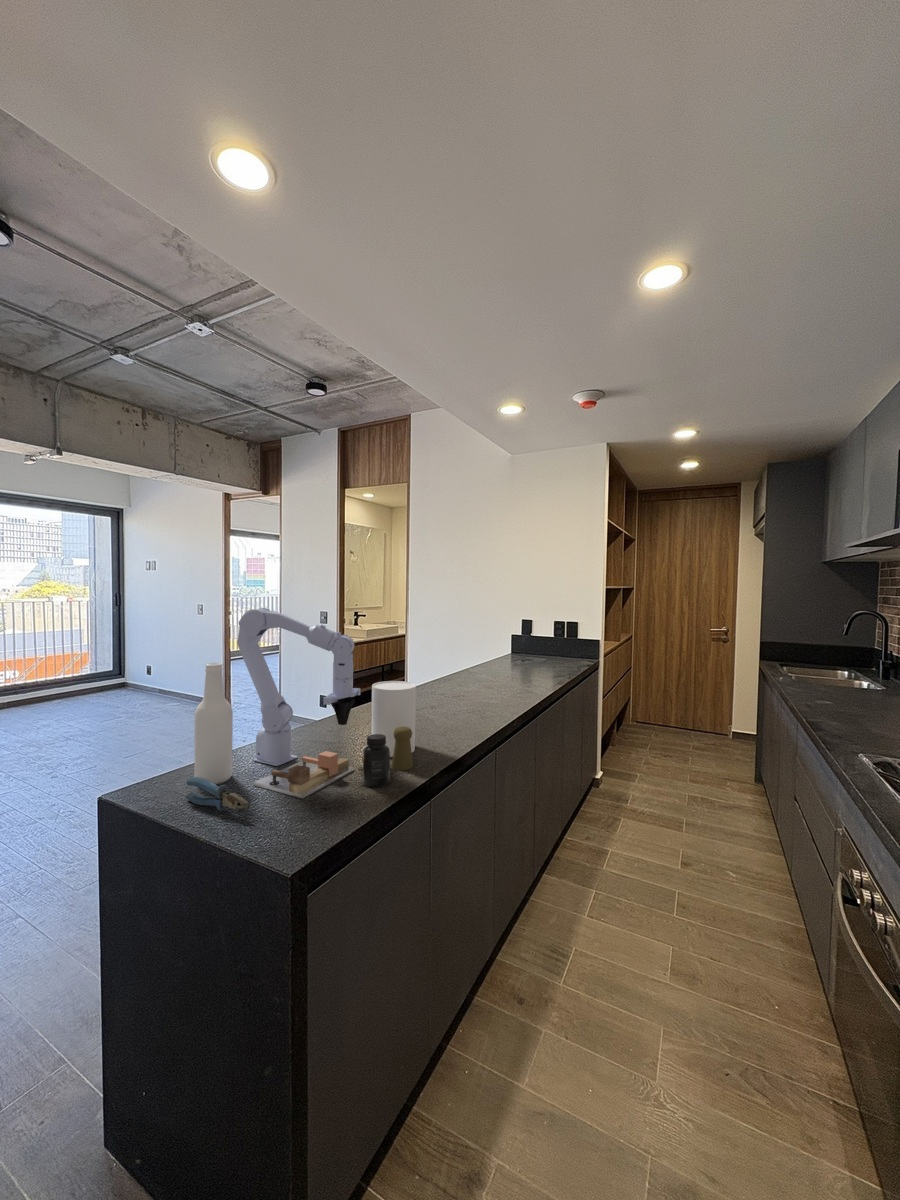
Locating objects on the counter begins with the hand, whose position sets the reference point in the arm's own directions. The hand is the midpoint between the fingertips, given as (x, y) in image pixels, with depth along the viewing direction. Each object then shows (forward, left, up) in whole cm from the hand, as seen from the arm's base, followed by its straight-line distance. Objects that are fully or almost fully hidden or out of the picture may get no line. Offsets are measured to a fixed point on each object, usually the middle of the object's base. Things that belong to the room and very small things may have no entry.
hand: (342, 724), depth 141 cm
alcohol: (-20, -27, -11) cm, 35 cm away
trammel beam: (+2, -15, -10) cm, 18 cm away
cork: (+18, +4, -11) cm, 21 cm away
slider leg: (+2, -12, -9) cm, 15 cm away
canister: (+8, +15, -11) cm, 20 cm away
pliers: (-5, -38, -11) cm, 40 cm away
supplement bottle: (+18, -9, -11) cm, 23 cm away
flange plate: (0, -15, -10) cm, 18 cm away
